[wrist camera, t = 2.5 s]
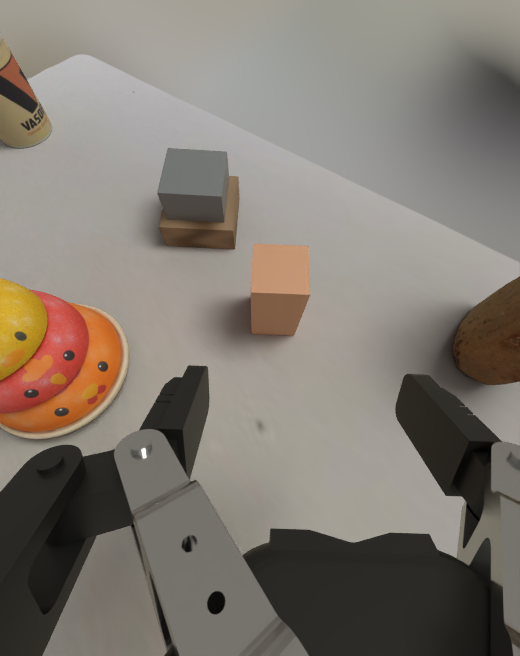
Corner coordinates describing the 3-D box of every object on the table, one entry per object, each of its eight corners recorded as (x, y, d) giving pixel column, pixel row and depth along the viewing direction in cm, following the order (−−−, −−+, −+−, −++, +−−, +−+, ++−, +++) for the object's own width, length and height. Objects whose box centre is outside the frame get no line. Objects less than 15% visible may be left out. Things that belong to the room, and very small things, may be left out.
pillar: (251, 333, 33) (250, 292, 23) (253, 296, 35) (253, 243, 25) (293, 335, 33) (310, 294, 23) (293, 297, 35) (308, 246, 25)
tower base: (168, 248, 37) (158, 227, 34) (178, 197, 41) (170, 173, 37) (235, 251, 37) (233, 230, 34) (239, 200, 41) (238, 176, 37)
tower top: (167, 219, 34) (157, 192, 30) (176, 177, 37) (167, 148, 33) (224, 222, 34) (221, 196, 30) (229, 180, 37) (226, 151, 33)
